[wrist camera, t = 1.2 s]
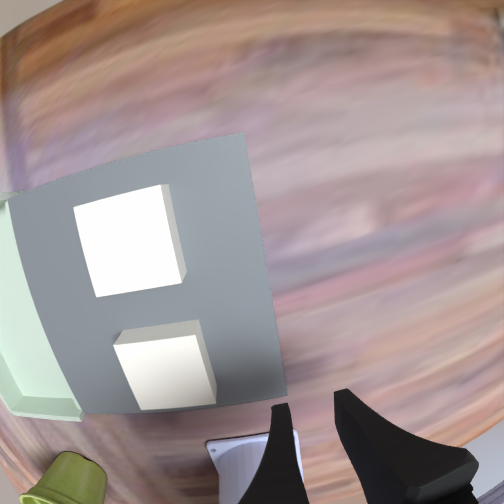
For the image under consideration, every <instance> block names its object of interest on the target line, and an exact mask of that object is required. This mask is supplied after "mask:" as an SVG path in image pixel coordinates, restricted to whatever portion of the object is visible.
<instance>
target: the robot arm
mask: <svg viewBox="0 0 504 504" xmlns="http://www.w3.org/2000/svg"><path fill="white" fill-rule="evenodd" d="M271 410H272V417H271V426H270V431H269V433H267V434H261V435H255V436H248V437H241V438H234V439H226V440H217V441H209V442H207V449H208V452H209V454H210V456H211V458H212V461H213V463H214V465H215V467H216V469H217V472H218V474H219V504H309V501H308V498H307V494H306V491H305V487H304V479H303V471H302V463H301V455H300V448H299V440H298V433H297V430H295V429H293V425H292V419H291V413H290V409H289V406H288V403H283V404H278V405H273V406H272V407H271ZM334 413H335V425H336V428H337V431H338V434H339V437H340V440H341V442H342V445H343V447H344V449H345V451H346V453H347V455H348V457H349V459H350V461H351V463H352V465H353V467H354V469H355V471H356V473H357V475H358V477H359V480H360V482H361V485H362V488H363V491H364V494H365V497H366V500H367V503H368V504H504V481H502V482H501V483H499V484H498V485H497V486H495V487H494V488H492V489H491V490H489V491H488V492H486V493H485V494H483V495H482V496H480V497H479V498H477V499H476V498H475V496H474V495H473V493H472V491H473V487H472V485H471V484H470V482H471V481H472V479H473V477H474V475H475V474H476V472H477V470H478V467H479V463H478V461H477V460H476V459H475V457H474V456H473V455H472V454H471V453H470V452H469V451H468V450H467V449H465V448H459V447H452V446H447V445H443V444H439V443H435V442H432V441H429V440H426V439H423V438H421V437H418V436H416V435H413V434H411V433H409V432H407V431H405V430H403V429H401V428H399V427H397V426H396V425H394V424H392V423H391V422H389V421H388V420H386V419H385V418H383V417H382V416H380V415H379V414H378V413H376V412H375V411H374V410H372V409H371V408H370V407H368V406H367V405H366V404H365V403H364V402H362V401H361V400H360V399H359V398H358V397H357V396H356V395H354V394H353V393H352V392H351V391H350V390H349V389H347V388H346V389H343V390H339V391H335V392H334Z"/></svg>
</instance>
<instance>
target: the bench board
mask: <svg viewBox="0 0 504 504" xmlns="http://www.w3.org/2000/svg"><path fill="white" fill-rule="evenodd" d="M163 184H169V190H170V195H171V200H172V205H173V210H174V215H175V220H176V225H177V230H178V234H179V239H180V244H181V248H182V253H183V257H184V261H185V266H186V270H187V273H186V275H185V277H184V279H183V281H182V283H179V284H173V285H168V286H162V287H156V288H150V289H144V290H138V291H132V292H126V293H120V294H114V295H108V296H102V297H96V294H95V291H94V288H93V285H92V281H91V278H90V274H89V271H88V267H87V264H86V260H85V256H84V252H83V248H82V244H81V240H80V236H79V232H78V227H77V223H76V218H75V213H74V208H73V207H76V206H80V205H83V204H87V203H90V202H94V201H97V200H101V199H105V198H109V197H112V196H116V195H120V194H124V193H128V192H132V191H136V190H140V189H144V188H148V187H153V186H157V185H163ZM8 205H9V211H10V216H11V221H12V226H13V231H14V235H15V240H16V244H17V248H18V252H19V256H20V260H21V263H22V267H23V270H24V274H25V277H26V280H27V284H28V287H29V290H30V293H31V296H32V299H33V302H34V305H35V308H36V311H37V313H38V316H39V319H40V321H41V324H42V327H43V329H44V332H45V334H46V337H47V339H48V342H49V344H50V346H51V349H52V351H53V353H54V355H55V358H56V360H57V362H58V364H59V366H60V369H61V371H62V373H63V375H64V377H65V379H66V381H67V383H68V385H69V387H70V389H71V391H72V393H73V395H74V396H75V398H76V400H77V402H78V404H79V406H80V407H81V409H82V411H83V413H84V414H135V413H157V412H172V411H185V410H195V409H205V408H213V407H221V406H229V405H236V404H242V403H249V402H255V401H261V400H266V399H272V398H277V397H282V396H287V389H286V382H285V376H284V369H283V363H282V356H281V350H280V344H279V337H278V331H277V325H276V319H275V312H274V306H273V300H272V294H271V288H270V282H269V276H268V269H267V263H266V257H265V251H264V245H263V240H262V234H261V228H260V222H259V216H258V210H257V204H256V198H255V193H254V187H253V181H252V175H251V170H250V164H249V158H248V153H247V147H246V141H245V136H244V133H238V134H232V135H226V136H221V137H215V138H210V139H205V140H200V141H195V142H190V143H186V144H181V145H176V146H172V147H168V148H163V149H159V150H155V151H151V152H147V153H143V154H139V155H136V156H132V157H128V158H124V159H121V160H117V161H114V162H110V163H107V164H104V165H100V166H97V167H94V168H91V169H87V170H84V171H81V172H78V173H75V174H72V175H69V176H66V177H63V178H60V179H57V180H55V181H52V182H49V183H46V184H44V185H41V186H38V187H36V188H33V189H30V190H28V191H25V192H23V193H20V194H18V195H15V196H13V197H11V198H8ZM198 319H199V323H200V326H201V330H202V334H203V338H204V341H205V345H206V349H207V352H208V356H209V359H210V363H211V366H212V370H213V373H214V377H215V380H216V383H217V395H216V404H209V405H201V406H191V407H180V408H168V409H152V410H141V409H140V406H139V404H138V402H137V400H136V398H135V396H134V394H133V391H132V389H131V387H130V385H129V382H128V380H127V378H126V376H125V373H124V371H123V368H122V366H121V364H120V361H119V359H118V356H117V354H116V351H115V349H114V346H113V345H114V343H115V342H116V340H117V339H118V337H119V336H120V334H121V332H122V331H123V330H127V329H135V328H143V327H150V326H157V325H164V324H171V323H178V322H185V321H191V320H198Z"/></svg>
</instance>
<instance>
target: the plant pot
mask: <svg viewBox="0 0 504 504" xmlns="http://www.w3.org/2000/svg"><path fill="white" fill-rule="evenodd" d="M106 484H107V476H106V474H105V472H104V471H103V470H102V469H101V468H100V467H99V466H98V465H97V464H96V463H94V462H92V461H88V460H86V459H84V458H83V457H82V456H81V455H79V454H76V453H73V452H62V453H60V454H59V456H58V457H57V458H56V459H55V461H54V462H53V463H52V465H51V466H50V467H49V469H48V470H47V471H46V473H45V474H44V475H43V476H42V478H41V479H40V480H39V481H38V483H37V484H36V485H35V486H34V487H32V488H31V489H30V490H29V491H28V492H27V493H23V494H21V495H20V497H19V500H20V502H21V504H104V497H105V490H106Z"/></svg>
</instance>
